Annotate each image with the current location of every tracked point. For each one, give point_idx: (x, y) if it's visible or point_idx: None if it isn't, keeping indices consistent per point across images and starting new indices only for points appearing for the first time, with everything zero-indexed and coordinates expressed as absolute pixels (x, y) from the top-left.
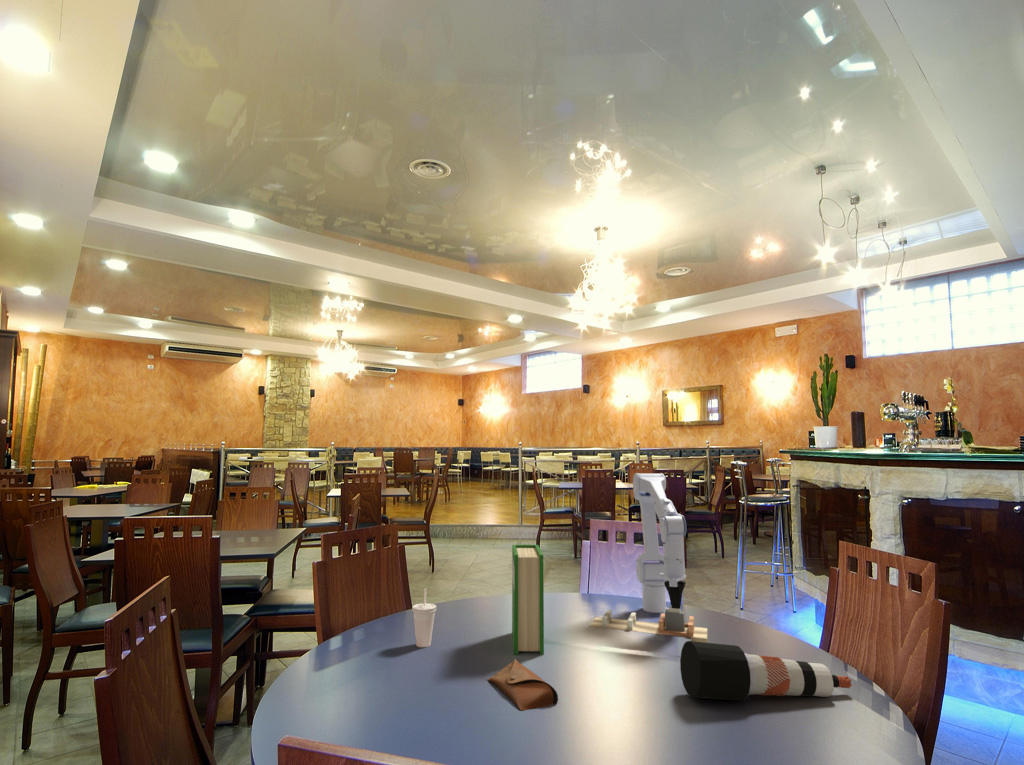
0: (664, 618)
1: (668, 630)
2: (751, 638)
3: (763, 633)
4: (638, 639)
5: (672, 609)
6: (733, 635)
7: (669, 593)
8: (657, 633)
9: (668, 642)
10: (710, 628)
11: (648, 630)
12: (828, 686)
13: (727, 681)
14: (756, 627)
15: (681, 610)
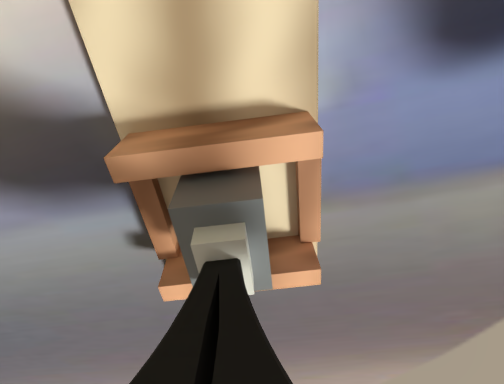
0: (227, 166)
1: (149, 183)
2: (295, 357)
3: (355, 370)
4: (9, 27)
5: (197, 259)
6: (306, 328)
7: (145, 372)
8: (118, 127)
9: (88, 180)
10: (365, 274)
11: (137, 65)
12: None
13: None
14: (412, 357)
15: (269, 278)
